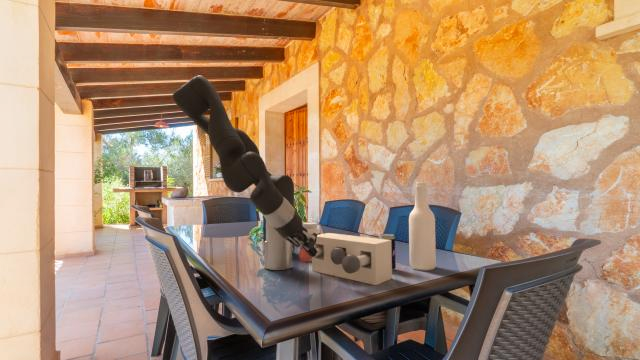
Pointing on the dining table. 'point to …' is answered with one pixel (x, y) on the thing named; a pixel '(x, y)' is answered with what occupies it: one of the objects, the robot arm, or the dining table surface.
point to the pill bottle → (311, 229)
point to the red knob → (306, 257)
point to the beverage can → (392, 238)
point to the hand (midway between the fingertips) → (314, 253)
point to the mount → (355, 246)
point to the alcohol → (422, 232)
